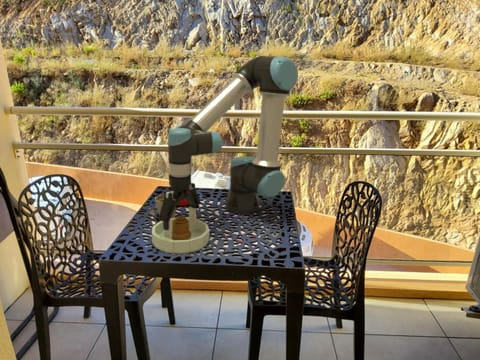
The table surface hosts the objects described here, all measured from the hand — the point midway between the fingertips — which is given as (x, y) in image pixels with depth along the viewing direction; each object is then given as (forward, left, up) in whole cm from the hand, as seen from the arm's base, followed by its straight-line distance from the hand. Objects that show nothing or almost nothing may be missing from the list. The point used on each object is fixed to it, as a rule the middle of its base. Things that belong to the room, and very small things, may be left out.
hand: (180, 230), depth 139 cm
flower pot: (+5, -21, -4) cm, 22 cm away
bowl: (0, 0, -4) cm, 4 cm away
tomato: (-1, -37, -4) cm, 37 cm away
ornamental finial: (0, 0, -3) cm, 3 cm away
